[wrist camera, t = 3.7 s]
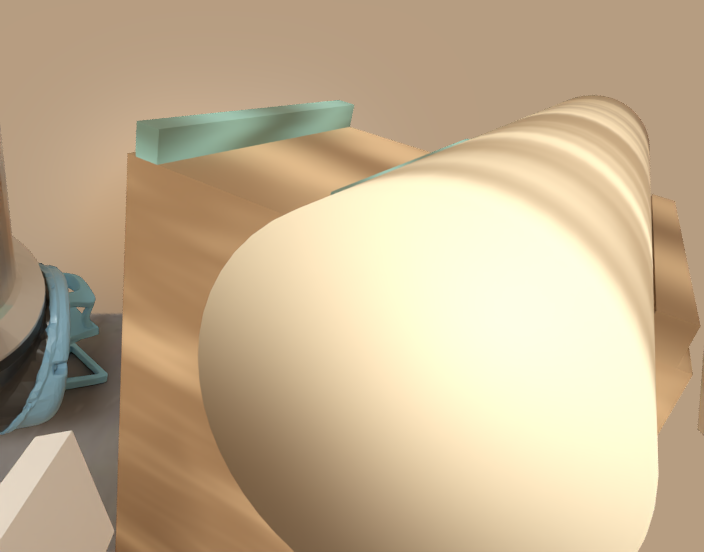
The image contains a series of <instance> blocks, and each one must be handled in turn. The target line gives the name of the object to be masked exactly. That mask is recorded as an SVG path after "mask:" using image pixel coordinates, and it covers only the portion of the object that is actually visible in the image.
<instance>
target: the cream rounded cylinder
mask: <svg viewBox="0 0 704 552" xmlns="http://www.w3.org/2000/svg"><path fill="white" fill-rule="evenodd" d="M198 368H199V382H200V388H201V393H202V399H203V404H204V408H205V412H206V415H207V418H208V422H209V425H210V429H211V431H212V434H213V436H214V439H215V441H216V444H217V446H218V449H219V451H220V453H221V455H222V457H223V459H224V461H225V463H226V465H227V467H228V469H229V471H230V473H231V474H232V476H233V478H234V479H235V481H236V482H237V484H238V486H239V487H240V489H241V490H242V492H243V494H244V495H245V496H246V498H247V499H248V500H249V502H250V503H251V504H252V506H253V507H254V508H255V510H256V511H257V513H258V514H259V515H260V516H261V517H262V519H263V520H264V521H265V522H266V523H267V524H268V525H269V526H270V528H271V529H272V530H273V531H274V532H275V533H276V534H277V535H278V536H279V537H280V538H281V539H282V540H283V541H284V542H285V543H286V544H287V545H288V546H289V547H290V548H291V549H292V550H293V551H294V552H638V550H639V548H640V546H641V545H642V543H643V541H644V539H645V537H646V534H647V531H648V528H649V525H650V521H651V518H652V515H653V512H654V508H655V501H656V492H657V483H658V445H657V406H656V369H655V332H654V295H653V257H652V220H651V184H650V148H649V139H648V135H647V131H646V128H645V126H644V124H643V122H642V121H641V119H640V118H639V117H638V115H637V114H636V113H635V112H634V111H633V110H632V109H631V108H630V107H628V106H627V105H625V104H624V103H622V102H620V101H618V100H615V99H613V98H609V97H605V96H597V95H588V96H581V97H576V98H573V99H570V100H567V101H565V102H562V103H560V104H557V105H555V106H552V107H549V108H547V109H544V110H542V111H540V112H537V113H534V114H532V115H530V116H527V117H525V118H522V119H520V120H517V121H515V122H512V123H510V124H507V125H505V126H502V127H500V128H497V129H495V130H492V131H490V132H487V133H485V134H482V135H480V136H477V137H475V138H473V139H470V140H467V141H465V142H462V143H460V144H457V145H455V146H452V147H450V148H447V149H445V150H442V151H440V152H437V153H435V154H432V155H430V156H427V157H425V158H422V159H420V160H417V161H415V162H412V163H410V164H407V165H405V166H403V167H400V168H398V169H395V170H393V171H390V172H388V173H385V174H383V175H380V176H378V177H375V178H373V179H370V180H368V181H365V182H363V183H360V184H358V185H355V186H353V187H350V188H348V189H345V190H343V191H340V192H338V193H335V194H333V195H330V196H328V197H325V198H323V199H320V200H318V201H315V202H313V203H310V204H308V205H305V206H303V207H300V208H298V209H296V210H294V211H292V212H289V213H287V214H285V215H283V216H281V217H279V218H277V219H275V220H273V221H271V222H270V223H268V224H267V225H266V226H264V227H263V228H261V229H260V230H258V231H257V232H256V233H254V234H253V235H252V236H251V237H250V238H248V239H247V240H246V241H245V242H244V243H243V244H242V245H241V246H240V247H239V248H238V249H237V250H236V251H235V252H234V254H233V255H232V256H231V258H230V259H229V261H228V262H227V263H226V265H225V266H224V267H223V269H222V270H221V272H220V274H219V276H218V278H217V280H216V282H215V284H214V286H213V287H212V289H211V291H210V294H209V297H208V300H207V303H206V306H205V309H204V312H203V317H202V322H201V328H200V333H199V346H198Z"/></svg>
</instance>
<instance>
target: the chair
mask: <svg viewBox="0 0 704 552" xmlns="http://www.w3.org/2000/svg"><path fill="white" fill-rule="evenodd" d="M63 274H64V276H65V278H66V281H67V286H68V288H70V289H72V290H73V291H74V292H70V293H69V302H70V324H71V325H70V351H69V353H70V352H72V353H74V354H75V355H76V356H77V357H78V358H79V359H80V360H81V361H82V362H83V363H84V364H85V365H86V366H87V367H88V368H89V369H91V370H92V371H93V372H94V373H95V374H94V375H87V376H79V377H72V378H67V382H66V388H65V389H71V388H77V387H83V386H89V385H95V384H100V383H104V382H106V381H107V376H108V374H107V373H106V372H105V371H104V370H103V369H102V368H101V367H100V366H99V365H98V364H97V363H96V362H95V361H94V360H93V359H92V358H90V357H89V356H88V355H87V354H86V353H85V352H84V351H83V350H82V349H81V348H80V347H79V346H78V345H77V344H75V342H77V341H79V340H81V339H84V338H88V337H91V336H95V335H98V334H99V327H98V326H97V325H95V324H94V323H93V322H92V321H91V320H90V313H91V310H92V308H93V306H94V302H95V296H94V294H93V292H92V290H91V289H90V287H89V286H88V284H87V283H86V282H85V281H84V280H83V279H82V278H81V277H80V276H77V275H75V274H69V273H63ZM76 307H85V310H84V311H83V313H81V312H80V311H79V310H78V309H77V308H76Z"/></svg>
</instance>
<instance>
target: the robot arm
mask: <svg viewBox="0 0 704 552" xmlns="http://www.w3.org/2000/svg"><path fill="white" fill-rule="evenodd" d="M8 203H9V202H8V193H7V185H6V175H5V165H4V156H3V147H2V138H1V128H0V434H5V433H9V432H12V431H13V430H14V429H18V428H24V427H29V426H35V425H39V424H42V423H44V422H46V421H48V420H49V419H51V418H52V417H53V416H54V415H55V414H56V412H57V411H58V409H59V407H60V405H61V403H62V400H63V396H64V392H65V388H66V382H67V374H68V369H67V361H68V357H69V351H70V325H71V324H70V302H69V292H68V286H67V281H66V278H65V276H64V274H63V273H62V272H61V271H60V270H59V269H58V268H57V267H55V266H51V265H43V264H42V263H38V262H37V260H36V259H35V257H34V256H33V254H32V253H31V252H30V251H29V250H28V249H27V248H26V247H25V246H24V245H23V244H22V243H21V242H20V241H19V240H17V239H16V238H15V237H13V236H12V231H11V221H10V211H9V204H8ZM698 430H699V431H700V432H701V433H702V434H703V435H704V353H703V366H702V379H701V392H700V405H699V418H698ZM113 534H114V529H113V526H112V524H111V521H110V519H109V517H108V514H107V512H106V510H105V507H104V505H103V503H102V500H101V498H100V495H99V493H98V491H97V488H96V486H95V484H94V481H93V479H92V476H91V474H90V472H89V469H88V467H87V465H86V462H85V460H84V457H83V455H82V453H81V450H80V448H79V446H78V443H77V441H76V438H75V436H74V434H73V431H72V430H71V431H65V432H60V433H54V434H48V435H43V436H37V437H35V438H34V439H33V441H32V442H31V443H30V445H29V446H28V447H27V449H26V450H25V451H24V453H23V454H22V455H21V457H20V458H19V460H18V461H17V462H16V464H15V465H14V466H13V468H12V469H11V470H10V472H9V473H8V474H7V476H6V477H5V478H4V480H3V481H2V482H1V484H0V552H106V550H107V548H108V546H109V543H110V541H111V538H112V536H113Z"/></svg>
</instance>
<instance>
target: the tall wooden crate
mask: <svg viewBox="0 0 704 552" xmlns="http://www.w3.org/2000/svg"><path fill="white" fill-rule="evenodd" d="M353 108H354V105H353V104H350V103H346V102H343V101H340V100H335V101H326V102H317V103H307V104H297V105H288V106H278V107H268V108H258V109H249V110H240V111H229V112H220V113H210V114H201V115H191V116H182V117H171V118H162V119H152V120H143V121H137V130H136V152H133V153H128V159H127V192H126V194H127V195H126V223H125V256H124V289H123V291H124V292H123V322H122V354H121V387H120V420H119V452H118V485H117V518H116V550H115V552H294V551H293V550H292V549H291V548H290V547H289V546H288V545H287V544H286V543H285V542H284V541H283V540H282V539H281V538H280V537H279V536H278V535H277V534H276V533H275V532H274V531H273V530H272V529H271V528H270V526H269V525H268V524H267V523H266V522H265V521H264V520H263V519H262V517H261V516H260V515H259V514H258V513H257V511H256V510H255V508H254V507H253V506H252V504H251V503H250V502H249V500H248V499H247V498H246V496H245V495H244V494H243V492H242V490H241V489H240V487H239V486H238V484H237V482H236V481H235V479H234V478H233V476H232V474H231V473H230V471H229V469H228V467H227V465H226V463H225V461H224V459H223V457H222V455H221V453H220V451H219V449H218V446H217V444H216V441H215V439H214V436H213V434H212V431H211V429H210V425H209V422H208V418H207V415H206V412H205V408H204V404H203V399H202V393H201V388H200V382H199V368H198V346H199V333H200V328H201V322H202V317H203V312H204V309H205V306H206V303H207V300H208V297H209V294H210V291H211V289H212V287H213V286H214V284H215V282H216V280H217V278H218V276H219V274H220V272H221V270H222V269H223V267H224V266H225V265H226V263H227V262H228V261H229V259H230V258H231V256H232V255H233V254H234V252H235V251H236V250H237V249H238V248H239V247H240V246H241V245H242V244H243V243H244V242H245V241H246V240H247V239H248V238H250V237H251V236H252V235H253V234H254V233H256V232H257V231H258V230H260V229H261V228H263V227H264V226H266V225H267V224H268V223H270V222H271V221H273V220H275V219H277V218H279V217H281V216H283V215H285V214H287V213H289V212H292V211H294V210H296V209H298V208H300V207H303V206H305V205H308V204H310V203H313V202H315V201H318V200H320V199H323V198H325V197H328V196H330V195H333V194H335V193H338V192H340V191H343V190H345V189H348V188H350V187H353V186H355V185H358V184H360V183H363V182H365V181H368V180H370V179H373V178H375V177H378V176H380V175H383V174H385V173H388V172H390V171H393V170H395V169H398V168H400V167H403V166H405V165H407V164H410V163H412V162H415V161H417V160H420V159H422V158H425V157H427V156H430V155H432V154H435V153H437V152H440V151H442V150H445V149H447V148H450V147H452V146H455V145H457V144H460V143H462V142H465V141H467V140H470V139H465V140H462V141H460V142H457V143H455V144H452V145H450V146H447V147H444V148H442V149H439V150H437V151H434V152H432V153H431V152H428V151H425V150H421V149H418V148H415V147H412V146H409V145H405V144H402V143H399V142H396V141H393V140H390V139H386V138H383V137H380V136H377V135H374V134H371V133H368V132H364V131H361V130H358V129H355V128H352V127H350V122H351V118H352V113H353ZM651 220H652V257H653V295H654V332H655V369H656V406H657V436H658V433H659V432H660V430H661V429H662V427H663V425H664V423H665V422H666V420H667V418H668V417H669V415H670V413H671V411H672V410H673V408H674V406H675V404H676V403H677V401H678V399H679V398H680V396H681V394H682V393H683V391H684V389H685V387H686V386H687V384H688V382H689V380H690V379H691V377H692V375H693V372H692V366H691V359H690V353H689V346H690V344H691V342H692V340H693V338H694V337H695V335H696V333H697V331H698V329H699V328H700V322H699V317H698V312H697V307H696V302H695V298H694V293H693V288H692V283H691V278H690V273H689V268H688V263H687V258H686V254H685V249H684V244H683V239H682V234H681V229H680V225H679V220H678V215H677V210H676V205H675V201H673V200H669V199H666V198H663V197H660V196H656V195H653V194H652V196H651Z"/></svg>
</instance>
